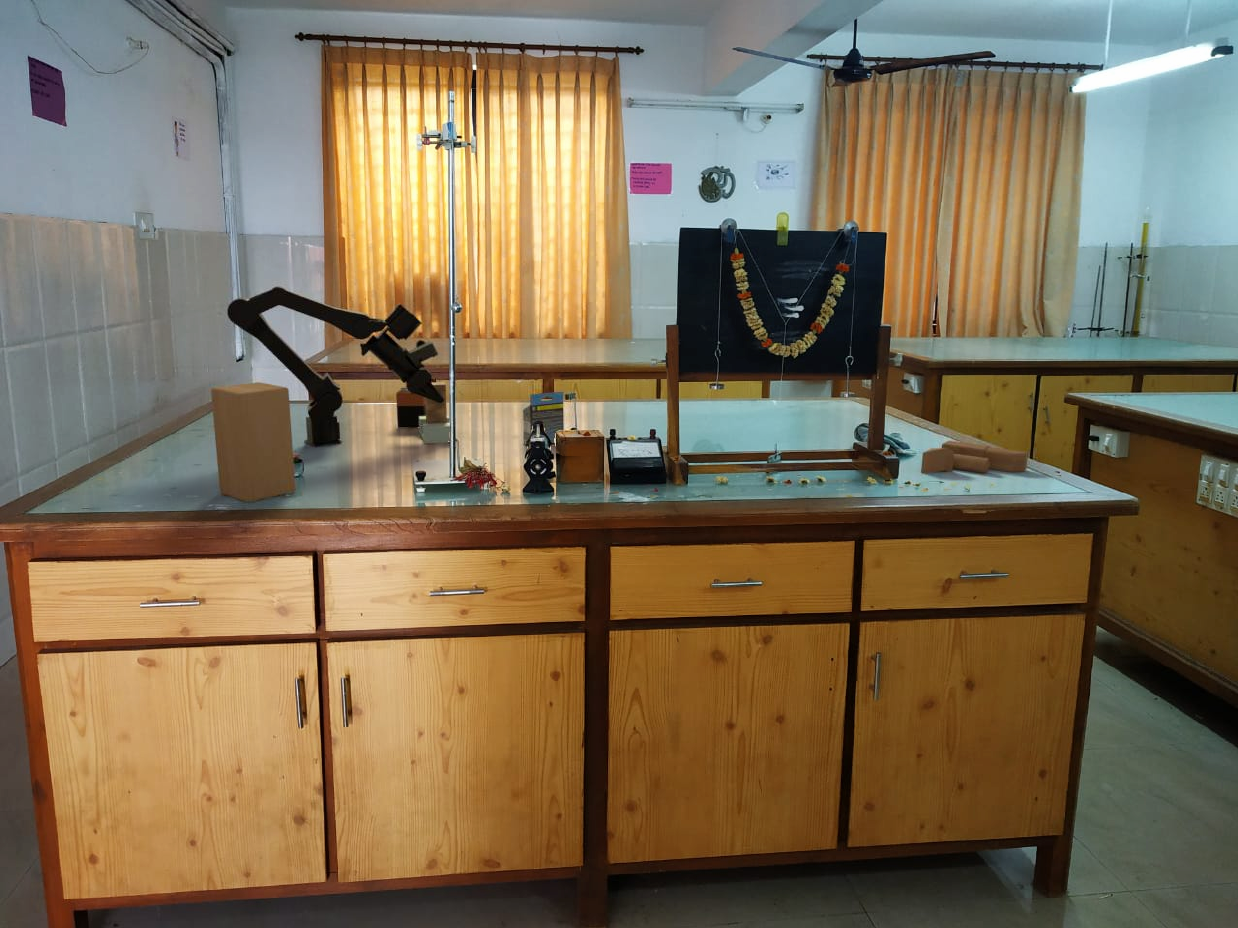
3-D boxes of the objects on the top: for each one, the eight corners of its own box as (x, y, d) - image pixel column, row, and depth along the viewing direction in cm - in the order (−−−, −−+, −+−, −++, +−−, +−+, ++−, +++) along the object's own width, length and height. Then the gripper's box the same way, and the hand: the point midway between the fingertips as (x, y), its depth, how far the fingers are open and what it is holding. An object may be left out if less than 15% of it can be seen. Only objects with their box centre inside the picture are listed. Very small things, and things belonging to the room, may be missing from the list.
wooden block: (268, 483, 185) (260, 381, 180) (296, 492, 178) (289, 387, 174) (219, 493, 177) (209, 387, 172) (247, 503, 171) (238, 393, 166)
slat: (428, 435, 226) (426, 385, 223) (426, 432, 229) (424, 382, 226) (447, 434, 227) (445, 384, 224) (445, 431, 231) (443, 382, 228)
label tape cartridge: (556, 440, 227) (556, 389, 224) (564, 443, 224) (564, 391, 221) (523, 444, 222) (522, 392, 219) (530, 447, 219) (530, 394, 216)
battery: (424, 428, 239) (423, 388, 237) (397, 428, 239) (395, 388, 236) (426, 424, 243) (425, 386, 241) (400, 424, 243) (398, 386, 240)
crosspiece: (455, 442, 223) (454, 425, 222) (425, 444, 221) (424, 427, 220) (447, 430, 236) (447, 415, 235) (419, 432, 234) (418, 416, 233)
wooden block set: (944, 435, 211) (1029, 446, 201) (942, 460, 213) (1026, 472, 202) (917, 447, 198) (1007, 460, 188) (915, 474, 199) (1004, 488, 189)
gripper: (420, 333, 212) (470, 381, 218) (412, 326, 230) (459, 370, 236) (385, 369, 212) (437, 416, 218) (380, 359, 229) (428, 402, 235)
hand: (441, 399), depth 227 cm, fingers open, 5 cm apart
